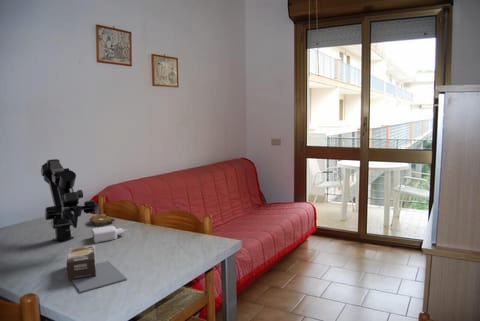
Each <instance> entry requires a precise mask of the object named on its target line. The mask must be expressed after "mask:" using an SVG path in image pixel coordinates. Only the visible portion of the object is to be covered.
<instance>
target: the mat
mask: <svg viewBox="0 0 480 321" xmlns="http://www.w3.org/2000/svg"><path fill="white" fill-rule="evenodd" d="M65 273H66V274H67V270H66V271H65ZM124 281H128V278H127V277H126V276H125V275H124V274H123V273H122V272H121V271H120V270H118V268H116V267H115V266H114V265H113V264H112V263H111V262H110V261H109V260H106V261H102V262H99V263H96V276H94V277H87V278H81V279H75V280H71V282H72V283H73V285H74V286H75V287H76V289H77V291H78V292H79V293H80V294H81V293H86V292H89V291H92V290H96V289H99V288H103V287H107V286H111V285H114V284H117V283H120V282H124Z"/></svg>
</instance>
